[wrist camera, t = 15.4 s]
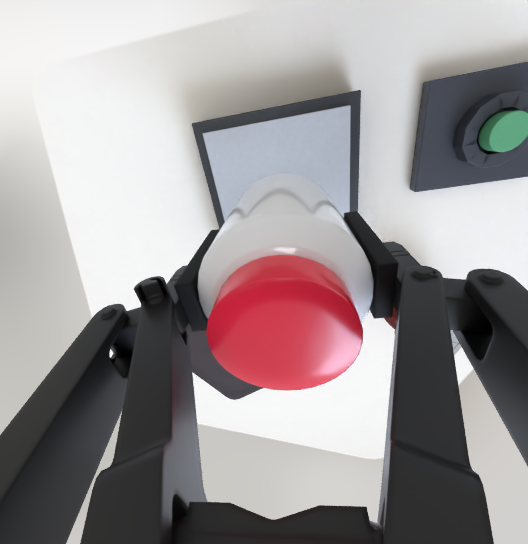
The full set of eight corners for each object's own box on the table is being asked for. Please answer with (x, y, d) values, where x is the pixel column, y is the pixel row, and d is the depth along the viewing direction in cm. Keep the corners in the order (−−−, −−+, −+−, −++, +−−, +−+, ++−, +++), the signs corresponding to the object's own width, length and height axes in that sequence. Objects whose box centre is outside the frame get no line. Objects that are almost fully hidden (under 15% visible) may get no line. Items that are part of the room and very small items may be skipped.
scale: (353, 92, 25) (362, 89, 22) (351, 241, 33) (358, 252, 30) (199, 123, 27) (189, 123, 24) (232, 255, 35) (228, 267, 32)
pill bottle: (352, 181, 16) (445, 262, 7) (324, 280, 20) (358, 418, 11) (233, 165, 16) (163, 225, 7) (229, 267, 20) (180, 394, 11)
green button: (523, 107, 22) (538, 107, 21) (511, 147, 24) (524, 149, 23) (483, 114, 23) (495, 114, 21) (474, 153, 24) (485, 155, 23)
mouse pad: (257, 269, 36) (257, 270, 35) (337, 353, 43) (337, 354, 43) (153, 342, 45) (152, 343, 45) (233, 400, 53) (233, 401, 52)
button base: (568, 54, 22) (605, 45, 20) (527, 172, 27) (553, 178, 25) (423, 82, 24) (439, 78, 21) (409, 189, 29) (421, 196, 26)
